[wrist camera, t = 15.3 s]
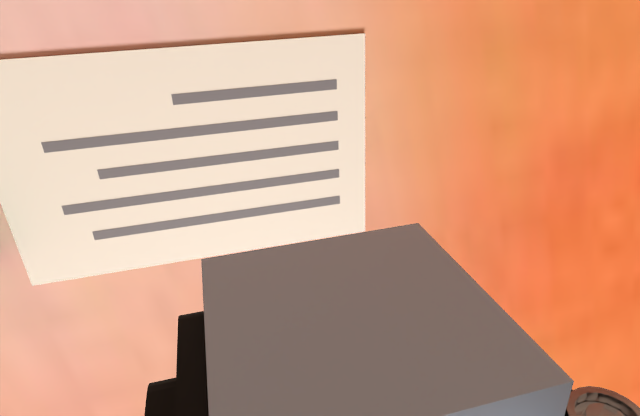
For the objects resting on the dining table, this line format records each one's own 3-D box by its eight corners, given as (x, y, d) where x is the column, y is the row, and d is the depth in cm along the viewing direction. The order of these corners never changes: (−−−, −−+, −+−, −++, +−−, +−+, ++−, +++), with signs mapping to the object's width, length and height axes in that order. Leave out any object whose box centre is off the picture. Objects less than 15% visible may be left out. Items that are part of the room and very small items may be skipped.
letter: (364, 33, 22) (365, 33, 22) (364, 230, 27) (365, 231, 27) (-53, 63, 19) (-54, 63, 19) (32, 284, 24) (32, 285, 24)
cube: (417, 223, 11) (573, 381, 6) (408, 379, 13) (520, 576, 9) (201, 259, 10) (211, 475, 5) (231, 422, 12) (255, 670, 8)
